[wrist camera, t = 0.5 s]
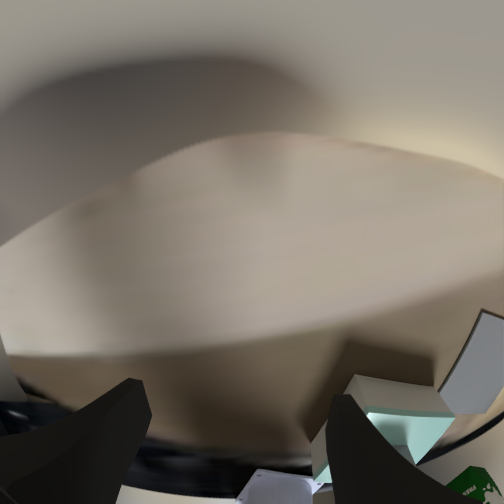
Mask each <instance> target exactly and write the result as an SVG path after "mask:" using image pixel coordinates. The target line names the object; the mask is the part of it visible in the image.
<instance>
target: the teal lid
mask: <svg viewBox="0 0 504 504" xmlns="http://www.w3.org/2000/svg"><path fill="white" fill-rule="evenodd" d="M363 412H364V413H365V414H366V416H367V417H368V418H369V420H370V421H371V422H372V423H373V425H374V426H375V427H376V428H377V429H378V431H379V432H380V433H381V434H382V435H383V436H384V438H385V439H386V440H387V441H388V442H389V443H390V444H391V445H392V446H393V447H394V448H395V449H396V450H397V451H398V452H399V453H400V454H401V455H402V456H403V457H404V458H405V459H407V460H408V461H409V462H410V463H411V464H413V465H414V466H415V467H416V464H417V462H418V461H419V460H420V459H421V458H422V457H423V456H424V455H425V454H426V453H427V452H428V451H429V449H430V448H431V447H432V446H433V445H434V444H435V443H436V441H437V440H438V439H439V438H440V437H441V435H442V434H443V433H444V432H445V431H446V429H447V428H448V427H449V425H450V424H451V423H452V422H453V420H454V419H455V416H454V415H453V413H452V412H434V411H417V410H404V409H394V408H385V407H376V406H369V405H366V406H365V408H364V409H363ZM416 468H417V467H416ZM313 482H325V483H332V480H331V474H330V469H329V464H328V458H327V459H326V460H325V461H324V463H323V464H322V465H321V466H320V467H319V468H318V470H317V471H316V472H315V473H314V474H313Z"/></svg>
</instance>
